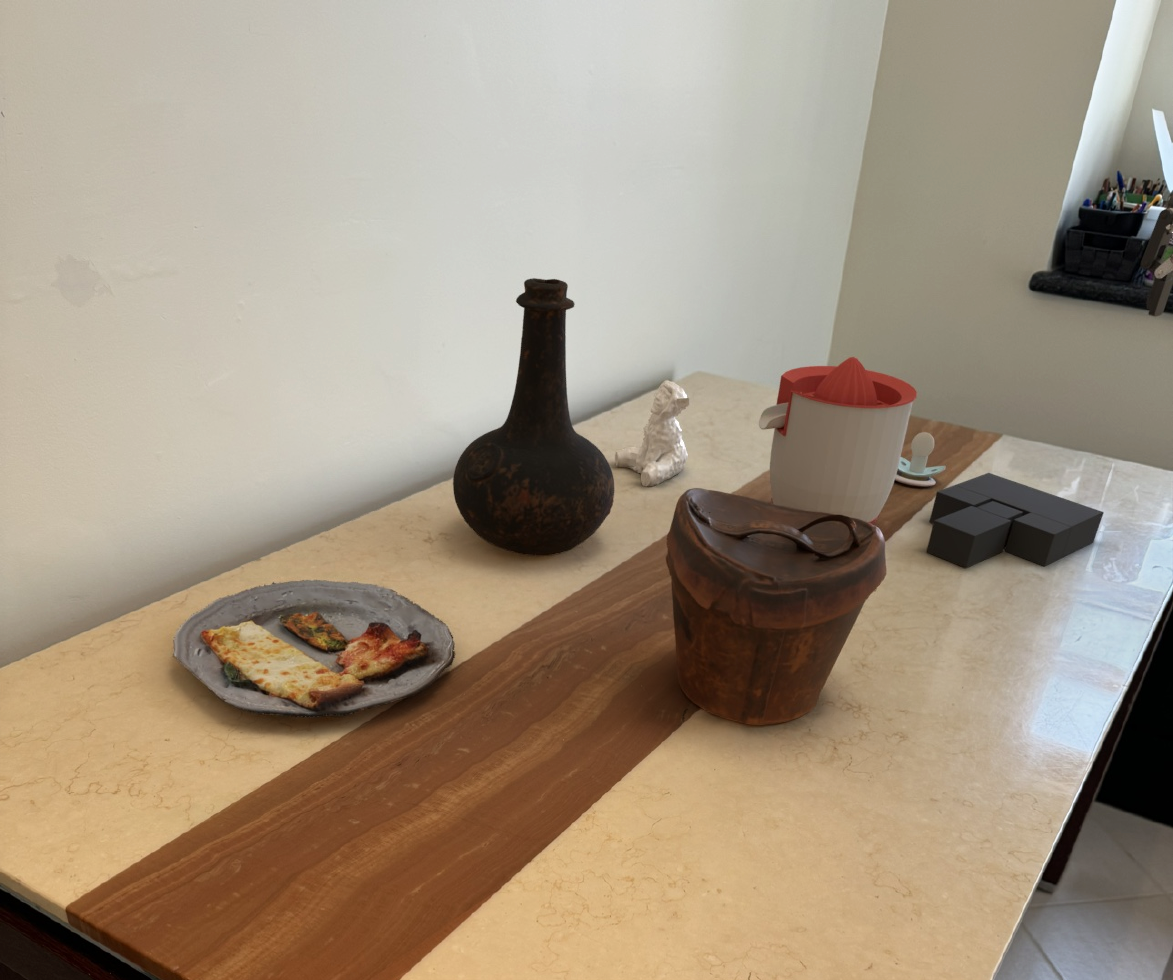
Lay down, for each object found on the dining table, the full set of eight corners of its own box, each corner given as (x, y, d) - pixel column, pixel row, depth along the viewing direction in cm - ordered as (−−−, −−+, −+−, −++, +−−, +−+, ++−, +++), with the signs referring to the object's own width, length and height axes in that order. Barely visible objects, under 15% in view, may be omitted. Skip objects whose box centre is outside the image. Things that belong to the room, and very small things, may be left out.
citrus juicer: (735, 497, 142) (758, 335, 130) (868, 502, 143) (902, 342, 132) (755, 547, 129) (782, 372, 118) (900, 552, 130) (941, 379, 119)
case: (898, 713, 101) (947, 528, 90) (719, 766, 92) (750, 567, 82) (779, 628, 113) (809, 456, 103) (611, 668, 104) (626, 485, 94)
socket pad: (1093, 542, 136) (1104, 512, 134) (1044, 566, 130) (1054, 534, 127) (980, 501, 146) (988, 472, 143) (929, 521, 139) (936, 491, 137)
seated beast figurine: (610, 463, 150) (616, 373, 143) (664, 456, 153) (673, 367, 146) (645, 488, 143) (654, 394, 136) (701, 480, 146) (712, 388, 139)
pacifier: (932, 493, 148) (944, 479, 152) (943, 448, 144) (956, 434, 148) (880, 481, 150) (893, 467, 155) (889, 436, 147) (903, 423, 151)
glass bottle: (425, 528, 128) (418, 268, 112) (550, 500, 138) (560, 256, 121) (512, 587, 117) (518, 307, 101) (641, 552, 127) (665, 291, 110)
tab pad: (1018, 544, 135) (1028, 513, 132) (966, 568, 128) (975, 536, 126) (979, 529, 138) (988, 499, 136) (925, 552, 131) (934, 520, 129)
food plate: (502, 677, 102) (502, 643, 100) (278, 766, 88) (273, 730, 86) (351, 580, 116) (348, 549, 114) (138, 645, 103) (131, 611, 101)
